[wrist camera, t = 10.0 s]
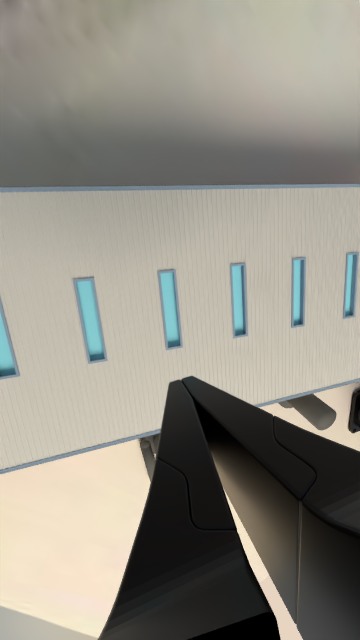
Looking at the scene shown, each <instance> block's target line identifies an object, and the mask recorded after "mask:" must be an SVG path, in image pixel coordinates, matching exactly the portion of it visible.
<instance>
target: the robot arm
mask: <svg viewBox="0 0 360 640" xmlns="http://www.w3.org/2000/svg"><path fill="white" fill-rule="evenodd" d="M349 431H350V432H352V433H355V432H358V431H360V391H359V392H356V393H355V394H354V395H353V401H352V409H351V417H350V425H349ZM223 488H224V489H225V491H226V493H227V495H228V497H229V499H230V501H231V503H232V505H233V507H234V509H235V510H236V512H237V514H238V516H239V518H240V520H241V522H242V524H243V526H244V528H245V529H246V531H247V533H248V535H249V537H250V539H251V541H252V543H253V545H254V547H255V549H256V550H257V552H258V554H259V556H260V558H261V560H262V562H263V564H264V566H265V568H266V569H267V571H268V573H269V575H270V577H271V579H272V581H273V583H274V584H275V586H276V589H277V590H278V592H279V594H280V596H281V598H282V600H283V602H284V604H285V605H286V608H287V609H288V611H289V613H290V615H291V617H292V619H293V621H294V623H295V624H297V629H298V631H299V632H300V634H301V636H302V638H303V640H360V451H357V450H355V449H352V448H349V447H347V446H344V445H342V444H339V443H337V442H334V441H331V440H329V439H326V438H324V437H321V436H319V435H316V434H314V433H312V432H309V431H307V430H304V429H302V428H300V427H298V426H296V425H293V424H291V423H289V422H287V421H285V420H283V419H281V418H279V417H277V416H273V415H272V414H270V413H268V412H266V411H264V410H262V409H260V408H258V407H256V406H254V405H252V404H250V403H248V402H246V401H244V400H241V399H239V398H237V397H235V396H233V395H231V394H229V393H227V392H225V391H223V390H221V389H219V388H217V387H215V386H213V385H211V384H209V383H207V382H205V381H202V380H200V379H198V378H196V377H194V376H188V377H185V378H182V379H181V380H180V379H178V380H175V381H172V382H170V383H169V385H168V391H167V396H166V402H165V408H164V413H163V419H162V425H161V430H160V436H159V442H158V447H157V453H156V460H155V464H154V469H153V474H152V479H151V484H150V488H149V493H148V496H147V500H146V504H145V507H144V511H143V514H142V518H141V521H140V524H139V527H138V530H137V534H136V537H135V540H134V543H133V546H132V550H131V553H130V556H129V559H128V562H127V566H126V569H125V572H124V575H123V579H122V582H121V585H120V588H119V591H118V594H117V597H116V600H115V602H114V605H113V608H112V610H111V613H110V615H109V617H108V620H107V622H106V624H105V626H104V628H103V630H102V632H101V634H100V636H99V638H98V640H280V635H279V630H278V624H277V620H276V617H275V615H274V613H273V611H272V609H271V607H270V605H269V603H268V601H267V599H266V597H265V595H264V593H263V591H262V589H261V587H260V585H259V583H258V581H257V578H256V576H255V574H254V572H253V570H252V568H251V566H250V564H249V561H248V559H247V556H246V554H245V551H244V548H243V546H242V543H241V540H240V537H239V534H238V532H237V528H236V525H235V522H234V519H233V516H232V513H231V510H230V507H229V504H228V501H227V498H226V495H225V492H224V489H223Z"/></svg>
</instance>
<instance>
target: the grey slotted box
mask: <svg viewBox="0 0 360 640" xmlns="http://www.w3.org/2000/svg"><path fill="white" fill-rule="evenodd" d="M188 376H194V377H196V378H198V379H200V380H202V381H205V382H207V383H209V384H211V385H213V386H215V387H217V388H219V389H221V390H223V391H225V392H227V393H229V394H231V395H233V396H235V397H237V398H239V399H241V400H244V401H246V402H248V403H250V404H252V405H254V406H256V407H262V406H266V405H270V404H274V403H278V402H282V401H285V400H289V399H293V398H297V397H301V396H305V395H309V394H313V393H316V392H320V391H324V390H328V389H332V388H336V387H340V386H343V385H347V384H351V383H355V382H359V381H360V184H282V185H179V186H77V187H0V474H4V473H7V472H11V471H15V470H19V469H23V468H27V467H31V466H34V465H38V464H42V463H46V462H50V461H54V460H58V459H61V458H65V457H69V456H73V455H77V454H81V453H85V452H88V451H92V450H96V449H100V448H104V447H108V446H112V445H116V444H119V443H123V442H127V441H131V440H135V439H139V438H143V437H146V436H150V435H154V434H158V433H160V430H161V425H162V419H163V413H164V408H165V402H166V396H167V391H168V385H169V383H170V382H172V381H175V380H178V379H180V380H181V379H182V378H185V377H188Z"/></svg>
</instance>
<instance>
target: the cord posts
mask: <svg viewBox="0 0 360 640" xmlns="http://www.w3.org/2000/svg"><path fill="white" fill-rule="evenodd" d="M278 403H279V404H280V405H281V406H282V407H284V408H292V407H294V408H295V409H296V410H297V411H298V412H299V413H300V414H302V415H303V416H304V417H305V418H306V419H307V420H308V421H309V422H310V423H311V424H312V425H314V426H315V427H316V428H317V429H318V430H325V429H327V428H329V427H330V426H331V425H332V424H333V423H334V421H335V419H336V412H335V411H334V410H333V409H332V408H331V407H329V406H328V405H327V404H325V403H324V402H323V401H321V400H320V399H319V398H317V397H316V396H315V395H314V394H309V395H305V396H301V397H297V398H293V399H289V400H285V401H282V402H278ZM159 436H160V433H158V434H154V435H150V436H146V437H144V439H142V440H141V442H140V447H141V450H142V454H143V457H144V461H145V464H146V468H147V471H148V475H149V478H150V481H151V479H152V474H153V469H154V464H155V458H154V455H153V453H155V454H156V453H157V447H158V442H159Z"/></svg>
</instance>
